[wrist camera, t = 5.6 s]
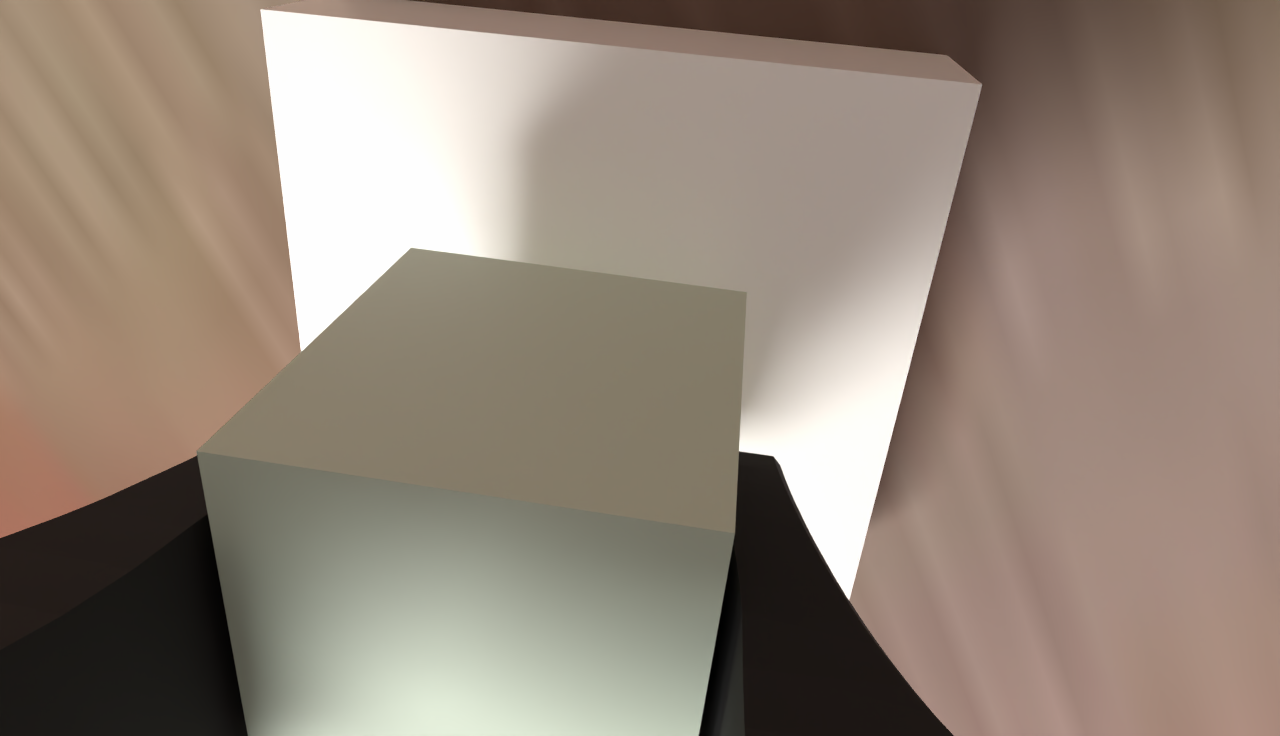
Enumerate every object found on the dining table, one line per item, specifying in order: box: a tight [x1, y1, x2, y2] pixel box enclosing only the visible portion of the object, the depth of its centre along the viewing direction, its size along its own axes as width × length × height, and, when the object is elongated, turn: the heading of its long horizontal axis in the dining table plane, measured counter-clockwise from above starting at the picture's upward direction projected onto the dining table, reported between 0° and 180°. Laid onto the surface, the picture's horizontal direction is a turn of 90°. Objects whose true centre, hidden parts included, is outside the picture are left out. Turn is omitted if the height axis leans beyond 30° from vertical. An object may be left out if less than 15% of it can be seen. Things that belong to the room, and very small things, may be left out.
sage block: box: [197, 248, 747, 736], centre depth 10 cm, size 4×4×5 cm
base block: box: [261, 0, 982, 600], centre depth 16 cm, size 10×10×3 cm
